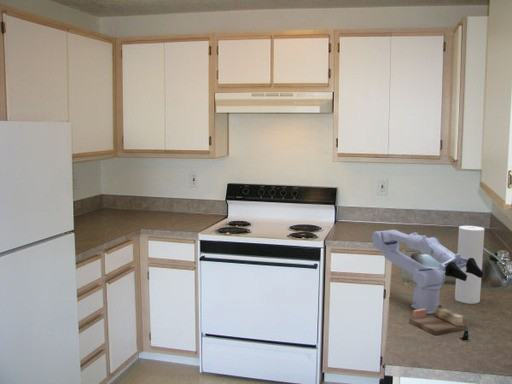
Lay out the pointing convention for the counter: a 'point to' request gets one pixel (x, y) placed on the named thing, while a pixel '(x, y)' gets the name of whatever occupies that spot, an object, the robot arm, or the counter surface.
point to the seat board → (436, 325)
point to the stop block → (419, 313)
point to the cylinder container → (468, 248)
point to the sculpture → (465, 335)
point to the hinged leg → (448, 315)
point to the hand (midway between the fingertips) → (474, 276)
